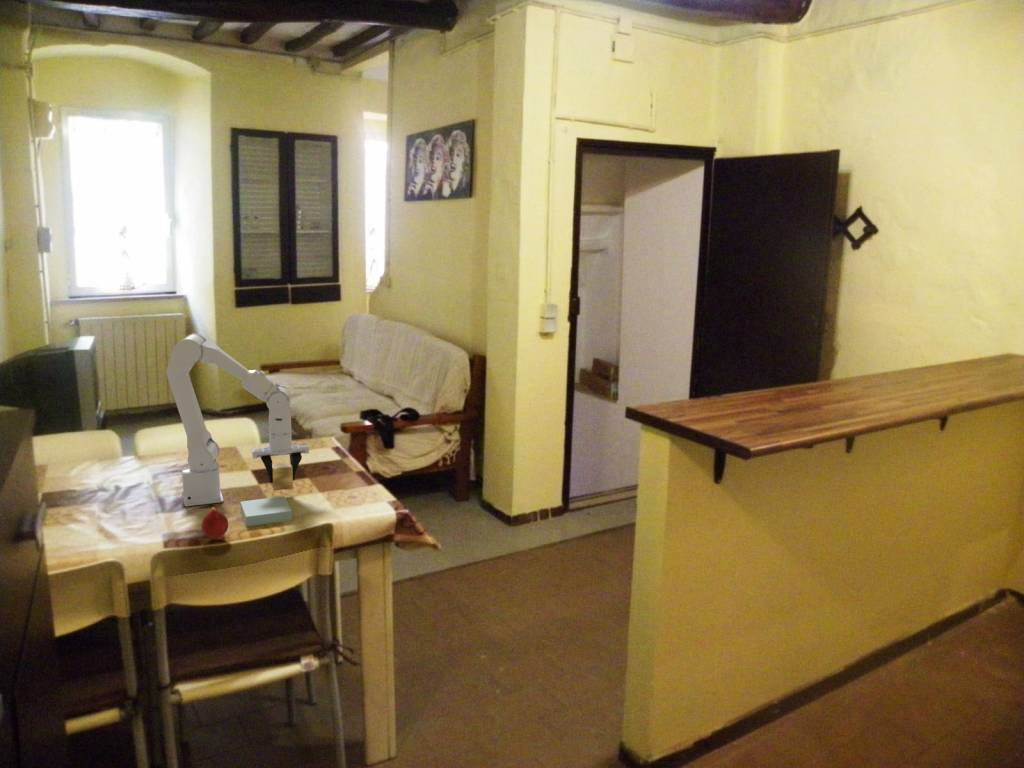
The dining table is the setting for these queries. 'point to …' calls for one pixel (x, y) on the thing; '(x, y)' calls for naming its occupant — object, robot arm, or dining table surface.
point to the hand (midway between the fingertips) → (281, 480)
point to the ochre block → (282, 476)
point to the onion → (214, 524)
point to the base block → (266, 511)
